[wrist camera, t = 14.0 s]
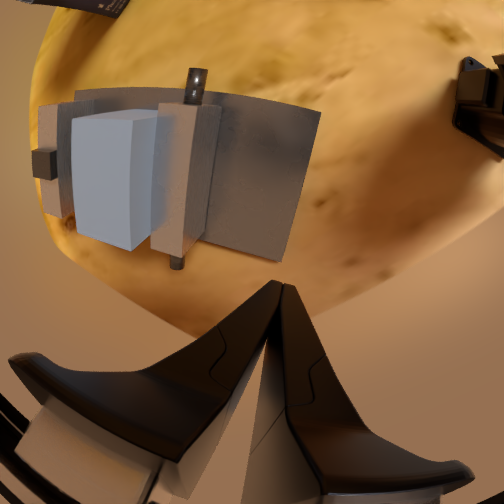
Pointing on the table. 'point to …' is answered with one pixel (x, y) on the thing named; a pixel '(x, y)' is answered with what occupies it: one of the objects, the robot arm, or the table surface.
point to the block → (113, 175)
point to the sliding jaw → (183, 169)
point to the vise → (224, 167)
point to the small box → (87, 5)
